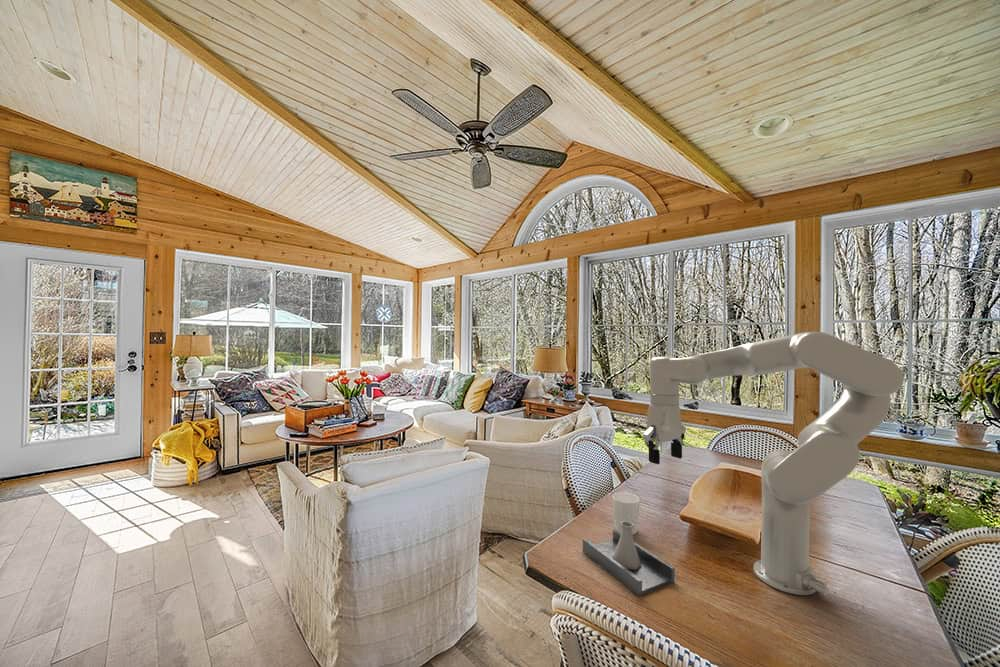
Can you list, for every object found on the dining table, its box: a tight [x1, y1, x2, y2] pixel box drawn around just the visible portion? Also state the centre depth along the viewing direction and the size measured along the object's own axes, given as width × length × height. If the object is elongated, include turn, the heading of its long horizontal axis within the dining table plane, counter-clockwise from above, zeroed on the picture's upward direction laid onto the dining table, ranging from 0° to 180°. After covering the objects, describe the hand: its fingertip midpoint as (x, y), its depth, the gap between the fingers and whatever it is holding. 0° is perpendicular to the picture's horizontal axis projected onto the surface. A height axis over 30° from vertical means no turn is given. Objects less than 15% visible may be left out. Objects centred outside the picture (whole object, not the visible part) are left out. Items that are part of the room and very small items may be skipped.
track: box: [582, 529, 676, 597], centre depth 100 cm, size 20×12×4 cm, turn 27°
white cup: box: [612, 492, 641, 536], centre depth 119 cm, size 8×8×10 cm
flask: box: [612, 521, 641, 570], centre depth 100 cm, size 7×7×10 cm
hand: (665, 460), depth 109 cm, fingers open, 9 cm apart
